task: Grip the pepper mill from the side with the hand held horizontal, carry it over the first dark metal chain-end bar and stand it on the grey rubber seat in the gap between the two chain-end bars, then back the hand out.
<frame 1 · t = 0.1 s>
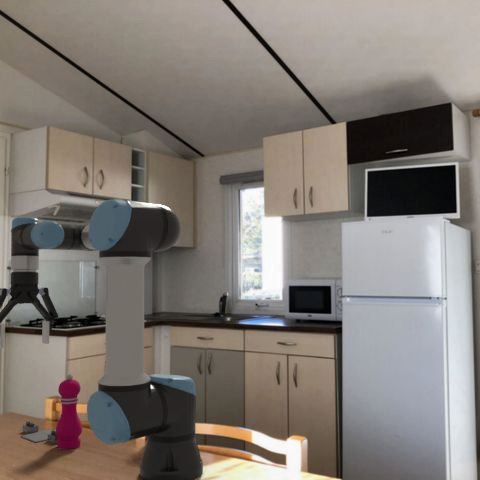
hand: (23, 345, 159), 28 cm above the table, tool pointing down, fingers open, 13 cm apart
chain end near: (55, 441, 160), on the table
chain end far: (30, 431, 170), on the table
pepper mill: (68, 446, 155), on the table
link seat: (42, 436, 165), on the table
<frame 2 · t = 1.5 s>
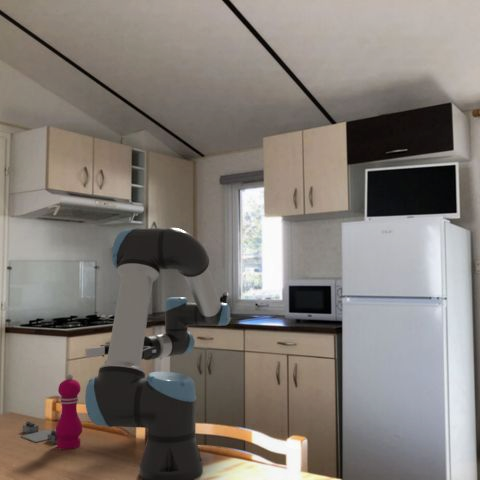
hand: (99, 355, 164), 24 cm above the table, tool horizontal, fingers open, 13 cm apart
nothing on the table moved.
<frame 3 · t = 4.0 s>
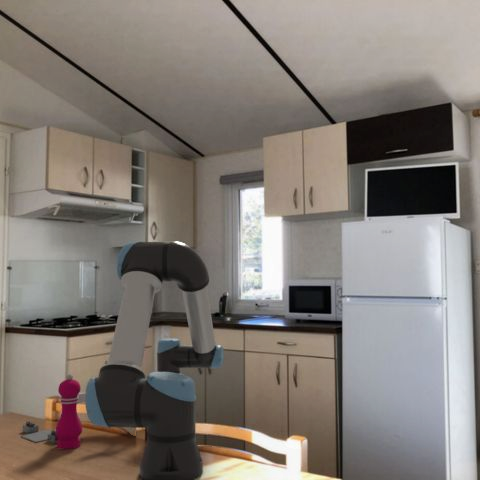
hand: (86, 402, 161), 11 cm above the table, tool horizontal, fingers open, 13 cm apart
nothing on the table moved.
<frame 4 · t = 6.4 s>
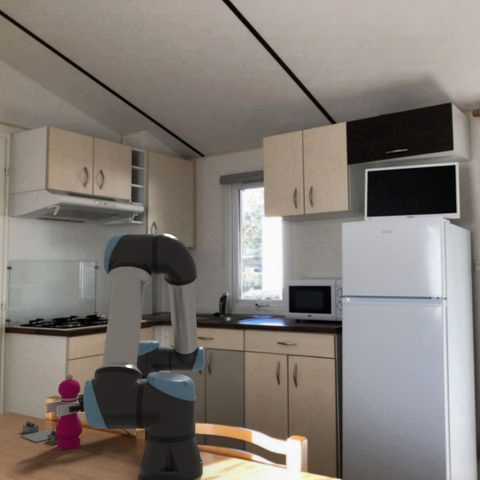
hand: (52, 409, 152), 11 cm above the table, tool horizontal, fingers closed on pepper mill, 5 cm apart
pepper mill: (68, 446, 155), on the table, touching gripper
everything else where it was.
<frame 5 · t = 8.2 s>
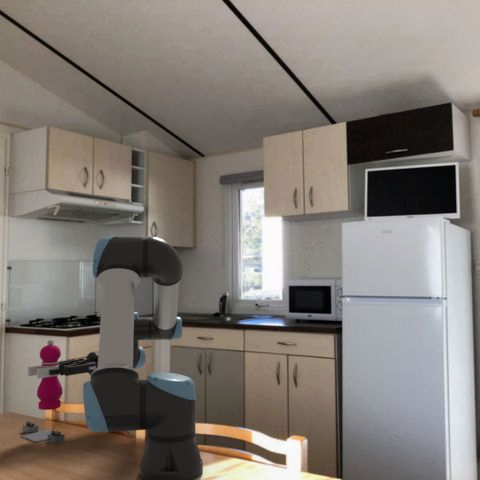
hand: (33, 372, 162), 20 cm above the table, tool horizontal, fingers closed on pepper mill, 5 cm apart
pepper mill: (49, 408, 165), point 8 cm above the table, touching gripper
everything else where it was.
when the fingers open (13 cm above the table, at t = 10.1 s): pepper mill drops 1 cm, resting on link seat.
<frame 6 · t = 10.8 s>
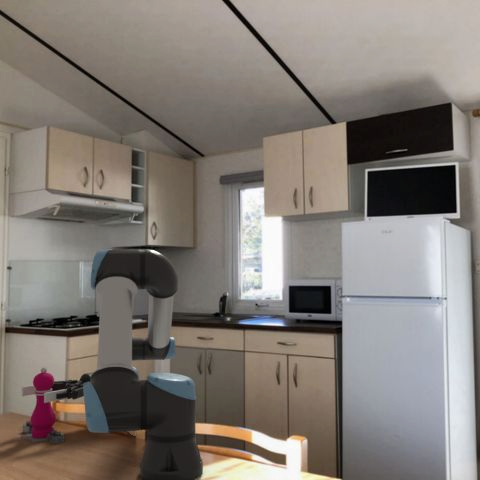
hand: (33, 394, 164), 13 cm above the table, tool horizontal, fingers open, 13 cm apart
pepper mill: (43, 436, 165), resting on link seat
everything else where it was.
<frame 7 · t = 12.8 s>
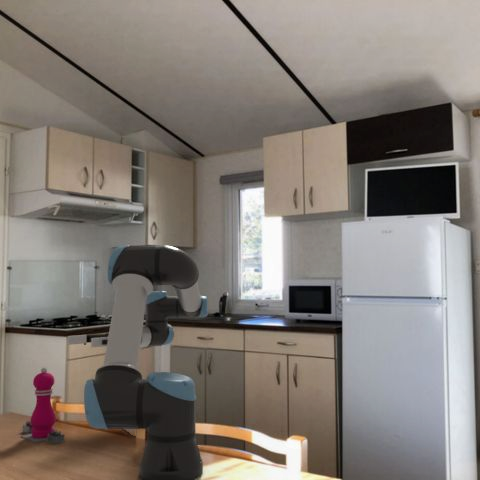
hand: (79, 341, 174), 27 cm above the table, tool horizontal, fingers open, 13 cm apart
nothing on the table moved.
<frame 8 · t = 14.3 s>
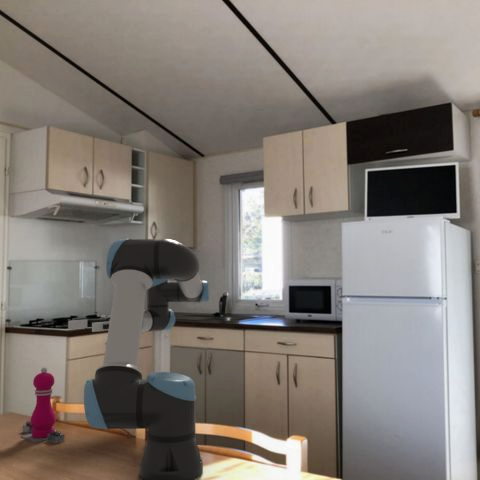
hand: (80, 326, 174), 32 cm above the table, tool horizontal, fingers open, 13 cm apart
nothing on the table moved.
at the end: pepper mill inside the target area on the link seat (0.1 cm from its centre), point 0.1 cm above the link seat's base; pepper mill tilted 0°; the gripper is holding nothing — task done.
